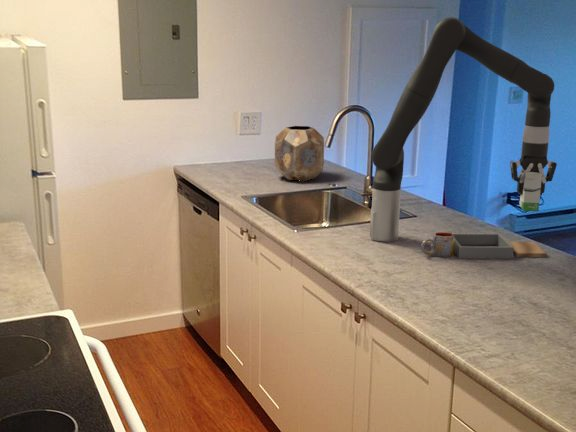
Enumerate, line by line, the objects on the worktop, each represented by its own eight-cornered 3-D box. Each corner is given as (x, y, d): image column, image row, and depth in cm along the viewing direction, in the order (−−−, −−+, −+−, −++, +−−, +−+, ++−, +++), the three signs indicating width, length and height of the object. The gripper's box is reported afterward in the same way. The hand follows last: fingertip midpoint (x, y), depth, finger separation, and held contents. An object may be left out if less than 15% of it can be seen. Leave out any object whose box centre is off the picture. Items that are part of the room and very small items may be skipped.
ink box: (539, 212, 214) (542, 174, 211) (522, 211, 215) (525, 173, 211) (535, 205, 222) (538, 168, 219) (519, 204, 223) (522, 167, 220)
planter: (271, 183, 315) (271, 131, 309) (280, 172, 338) (280, 123, 332) (319, 185, 312) (320, 132, 305) (326, 174, 335) (326, 124, 329)
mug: (445, 249, 224) (446, 229, 222) (458, 255, 217) (459, 235, 216) (413, 254, 219) (414, 234, 217) (426, 260, 213) (427, 239, 211)
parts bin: (458, 258, 215) (459, 247, 214) (448, 243, 229) (449, 233, 228) (512, 258, 215) (513, 247, 214) (498, 243, 229) (499, 233, 228)
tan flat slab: (516, 256, 216) (517, 253, 216) (505, 245, 228) (505, 241, 228) (545, 257, 216) (546, 253, 216) (532, 245, 228) (533, 241, 227)
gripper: (515, 142, 209) (510, 197, 214) (563, 142, 209) (557, 197, 214) (508, 138, 216) (503, 191, 221) (554, 138, 216) (549, 191, 221)
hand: (530, 194), depth 217 cm, fingers closed on ink box, 5 cm apart
